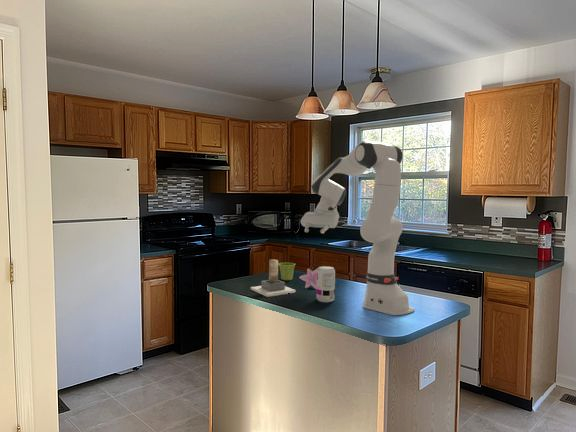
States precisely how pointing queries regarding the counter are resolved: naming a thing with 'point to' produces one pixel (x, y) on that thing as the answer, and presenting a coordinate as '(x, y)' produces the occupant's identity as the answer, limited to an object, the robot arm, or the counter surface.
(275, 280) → the beech peg
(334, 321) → the counter surface
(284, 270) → the plant pot
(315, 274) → the lily
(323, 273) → the supplement can
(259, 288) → the docking plate
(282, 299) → the counter surface
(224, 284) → the counter surface
